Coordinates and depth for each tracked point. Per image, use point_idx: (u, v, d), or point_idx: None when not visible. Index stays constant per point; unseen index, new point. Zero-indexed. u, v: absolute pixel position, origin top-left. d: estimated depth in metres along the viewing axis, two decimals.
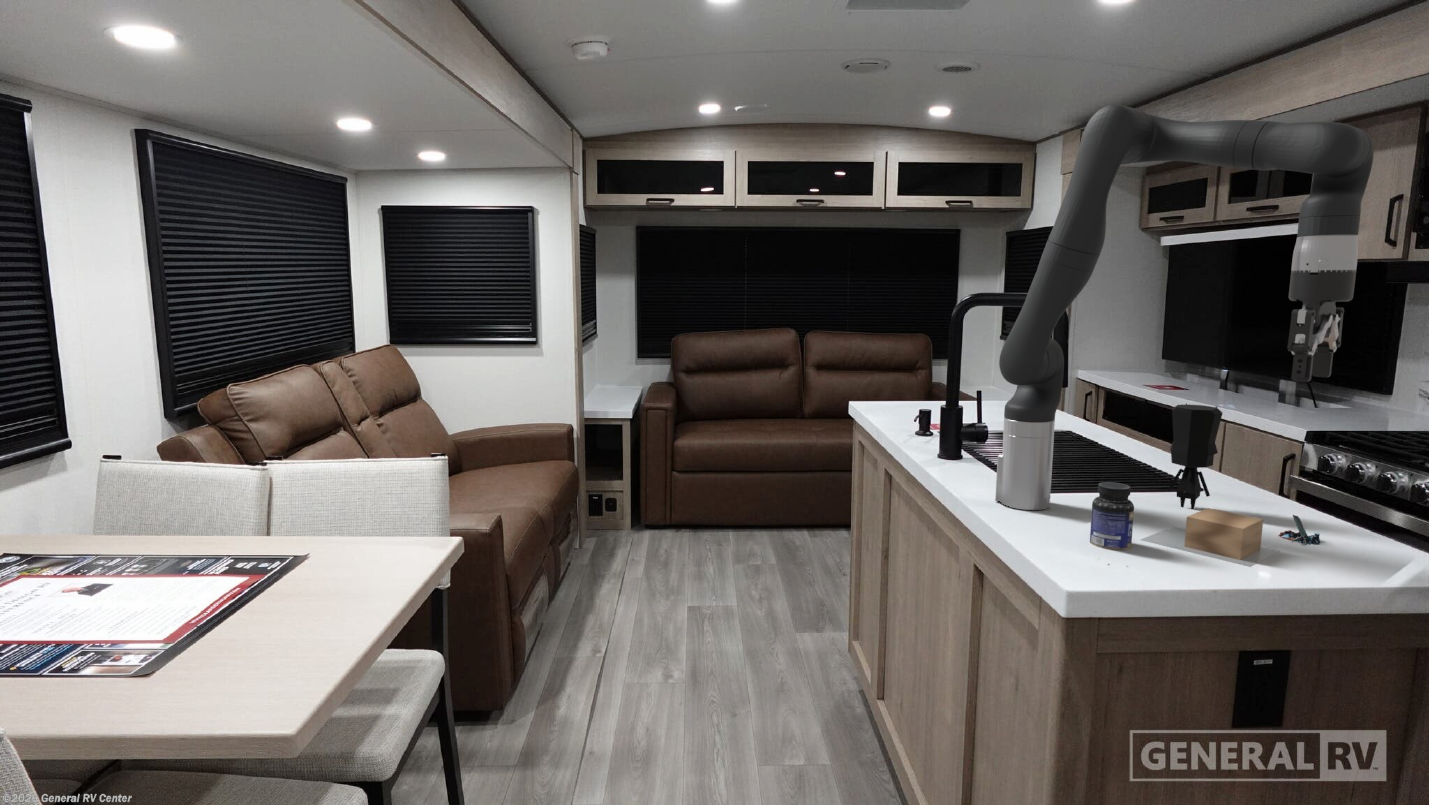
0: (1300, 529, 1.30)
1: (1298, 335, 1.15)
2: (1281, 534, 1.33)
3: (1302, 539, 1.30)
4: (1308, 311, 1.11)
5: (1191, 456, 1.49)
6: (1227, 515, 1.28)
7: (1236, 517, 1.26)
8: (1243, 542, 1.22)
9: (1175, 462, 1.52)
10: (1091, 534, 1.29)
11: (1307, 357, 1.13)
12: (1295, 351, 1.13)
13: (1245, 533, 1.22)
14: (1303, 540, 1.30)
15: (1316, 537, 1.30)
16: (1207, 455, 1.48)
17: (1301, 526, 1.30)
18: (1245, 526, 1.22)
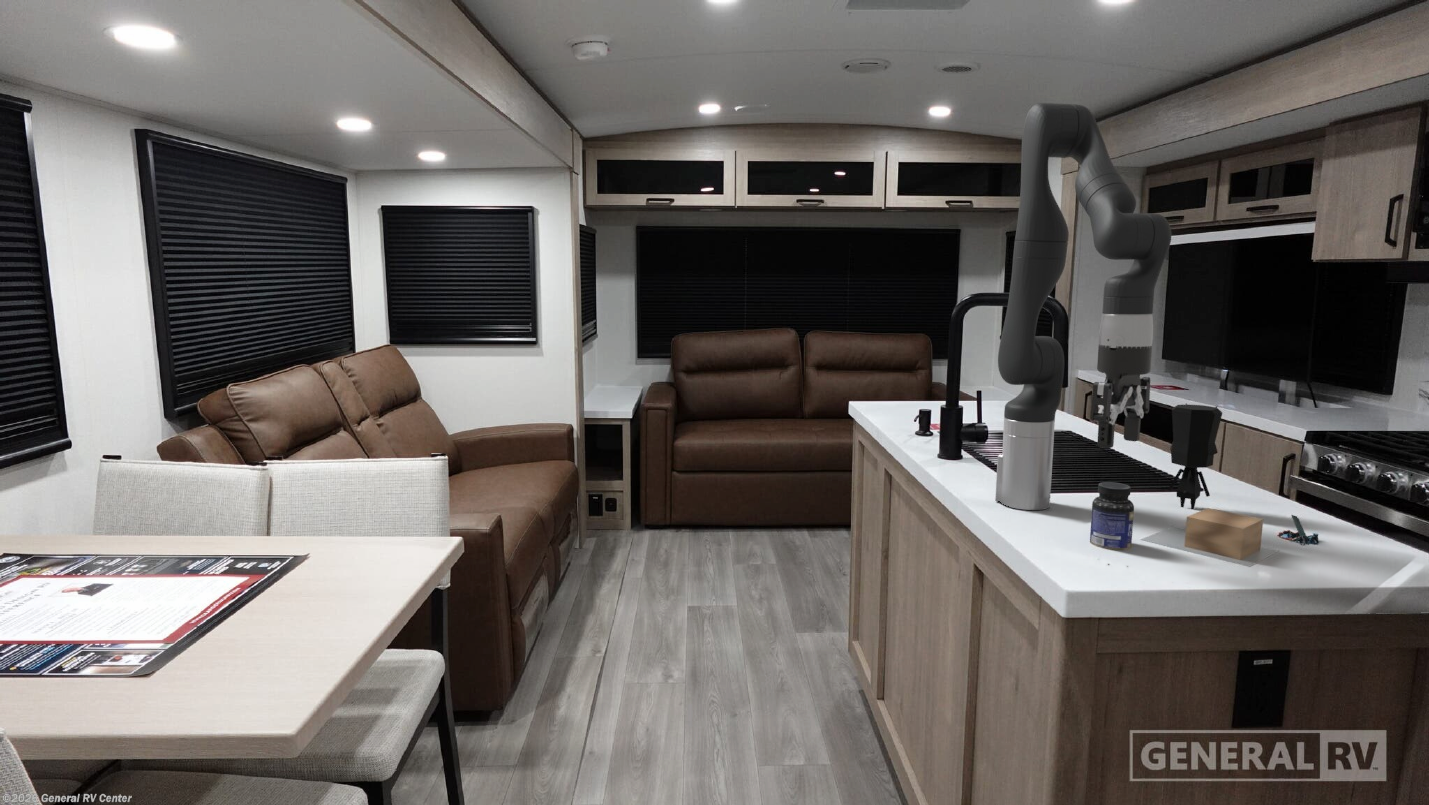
0: (1299, 529, 1.30)
1: None
2: (1280, 534, 1.33)
3: (1301, 539, 1.30)
4: (1106, 384, 1.21)
5: (1191, 456, 1.49)
6: (1227, 515, 1.28)
7: (1236, 517, 1.26)
8: (1243, 542, 1.22)
9: (1175, 462, 1.52)
10: (1091, 534, 1.29)
11: (1108, 426, 1.23)
12: (1097, 420, 1.23)
13: (1245, 533, 1.22)
14: (1302, 540, 1.30)
15: (1315, 537, 1.30)
16: (1207, 455, 1.48)
17: (1300, 526, 1.30)
18: (1245, 526, 1.22)
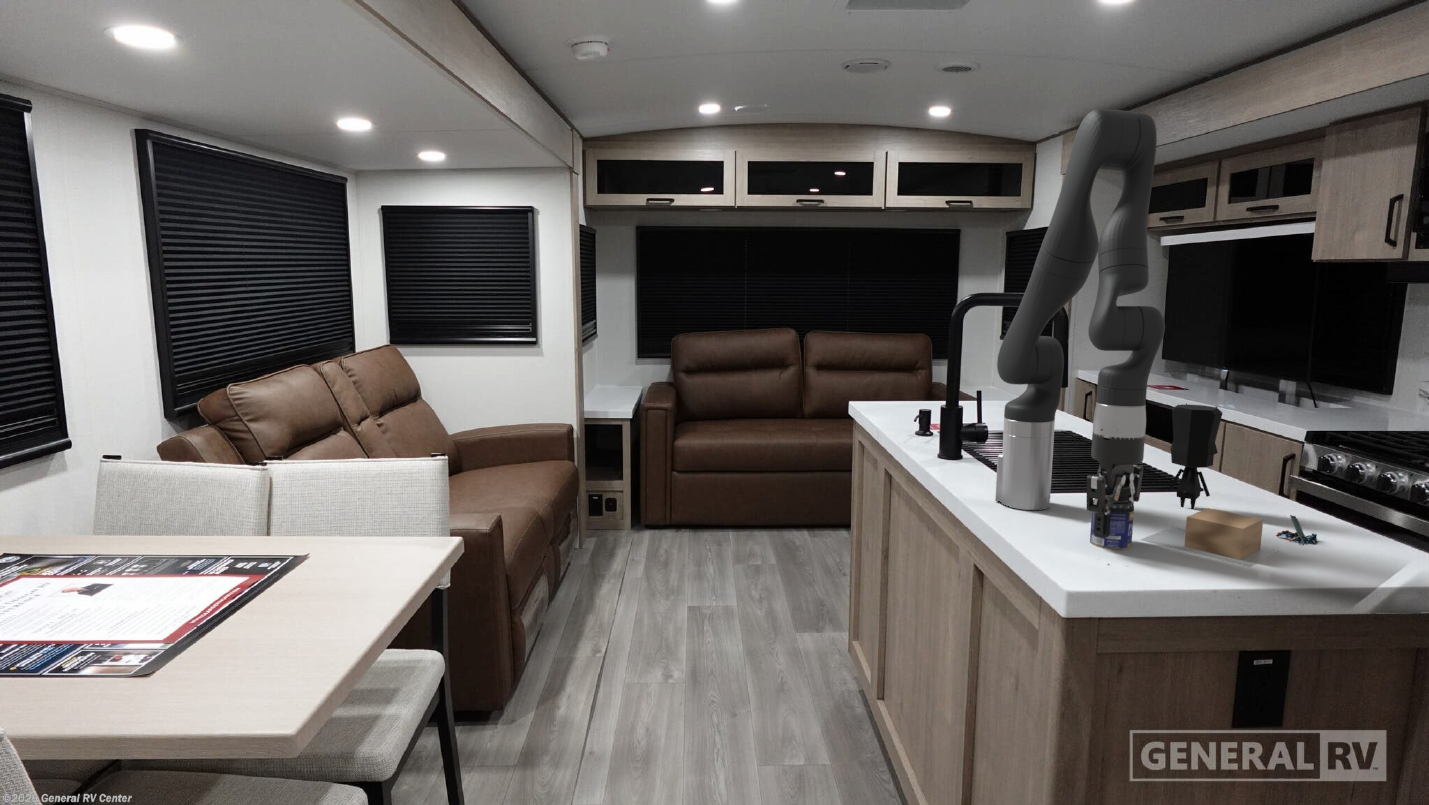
0: (1298, 529, 1.30)
1: None
2: (1278, 534, 1.33)
3: (1299, 539, 1.30)
4: (1098, 479, 1.23)
5: (1191, 456, 1.49)
6: (1227, 515, 1.28)
7: (1236, 517, 1.26)
8: (1243, 542, 1.22)
9: (1175, 462, 1.52)
10: (1091, 534, 1.29)
11: (1104, 516, 1.26)
12: (1093, 511, 1.25)
13: (1245, 533, 1.22)
14: (1300, 540, 1.30)
15: (1313, 537, 1.30)
16: (1207, 455, 1.48)
17: (1298, 526, 1.30)
18: (1245, 526, 1.22)
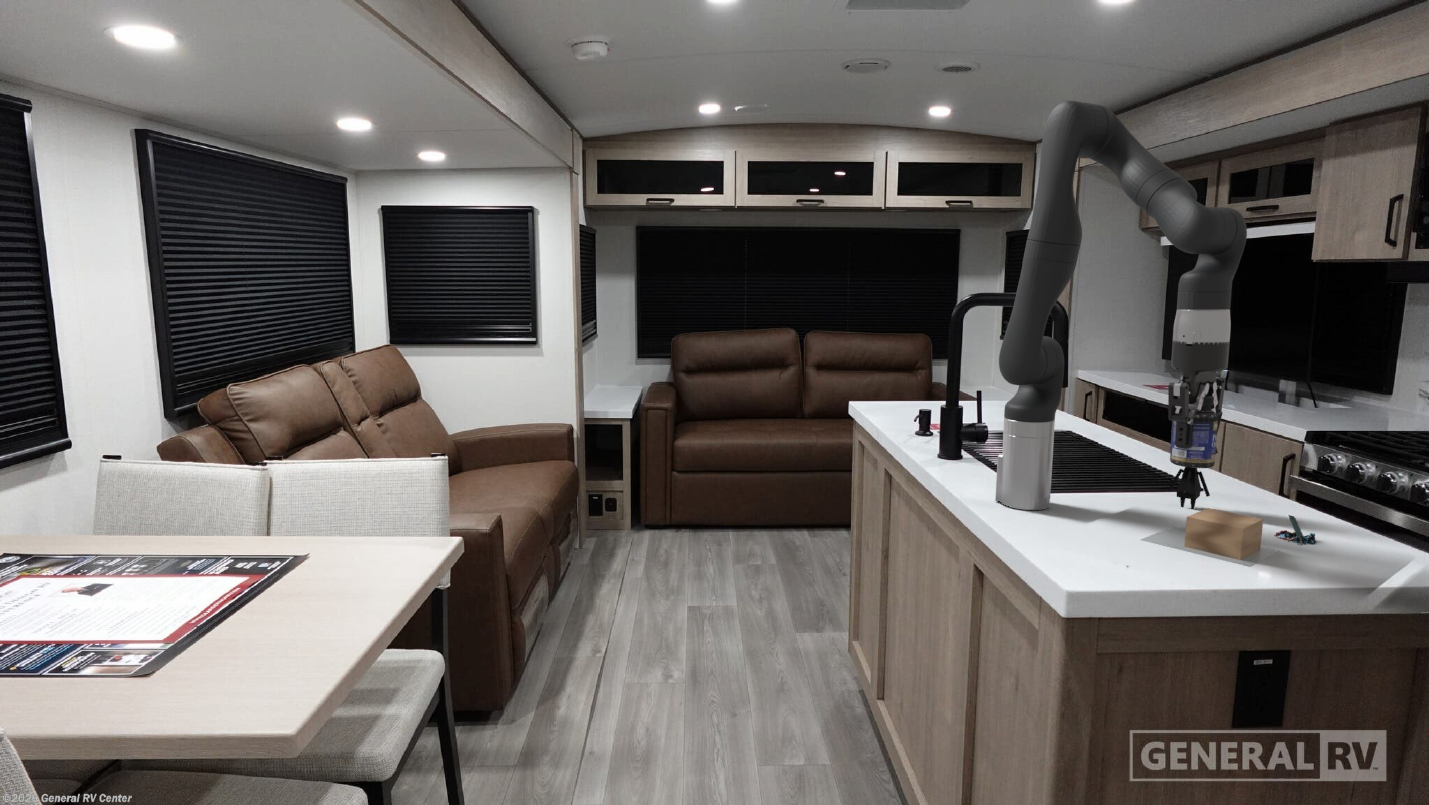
0: (1296, 529, 1.30)
1: None
2: (1277, 534, 1.33)
3: (1298, 539, 1.30)
4: (1182, 385, 1.19)
5: None
6: (1227, 515, 1.28)
7: (1236, 517, 1.26)
8: (1243, 542, 1.22)
9: None
10: (1172, 447, 1.25)
11: (1187, 426, 1.21)
12: (1175, 420, 1.21)
13: (1245, 533, 1.22)
14: (1299, 540, 1.30)
15: (1312, 537, 1.30)
16: None
17: (1297, 526, 1.30)
18: (1245, 526, 1.22)
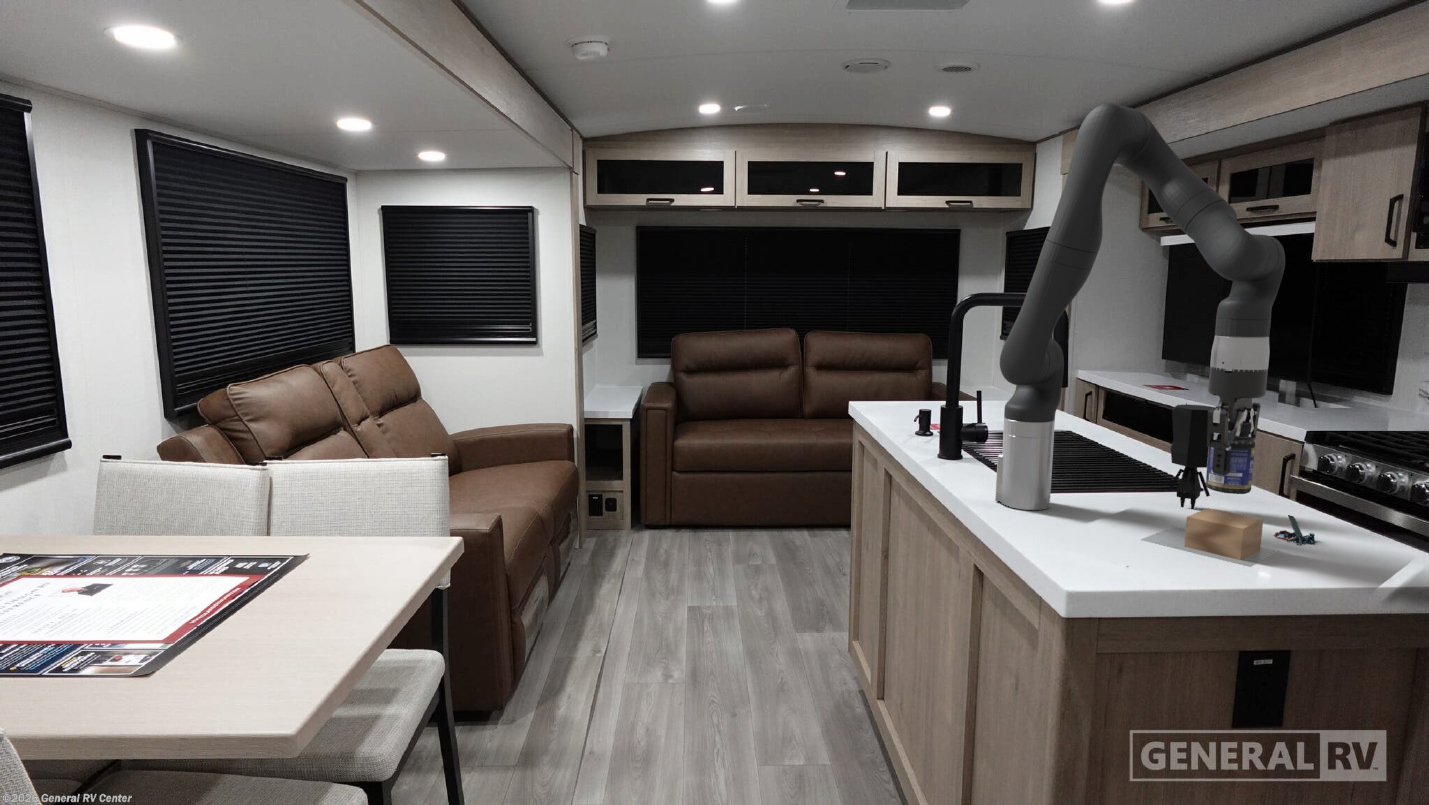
0: (1296, 529, 1.30)
1: None
2: (1276, 534, 1.33)
3: (1297, 539, 1.30)
4: (1222, 413, 1.19)
5: (1191, 456, 1.49)
6: (1227, 515, 1.28)
7: (1236, 517, 1.26)
8: (1243, 542, 1.22)
9: (1175, 462, 1.52)
10: (1209, 472, 1.26)
11: (1225, 452, 1.22)
12: (1214, 447, 1.22)
13: (1245, 533, 1.22)
14: (1298, 540, 1.30)
15: (1311, 537, 1.30)
16: (1207, 455, 1.48)
17: (1296, 526, 1.30)
18: (1245, 526, 1.22)
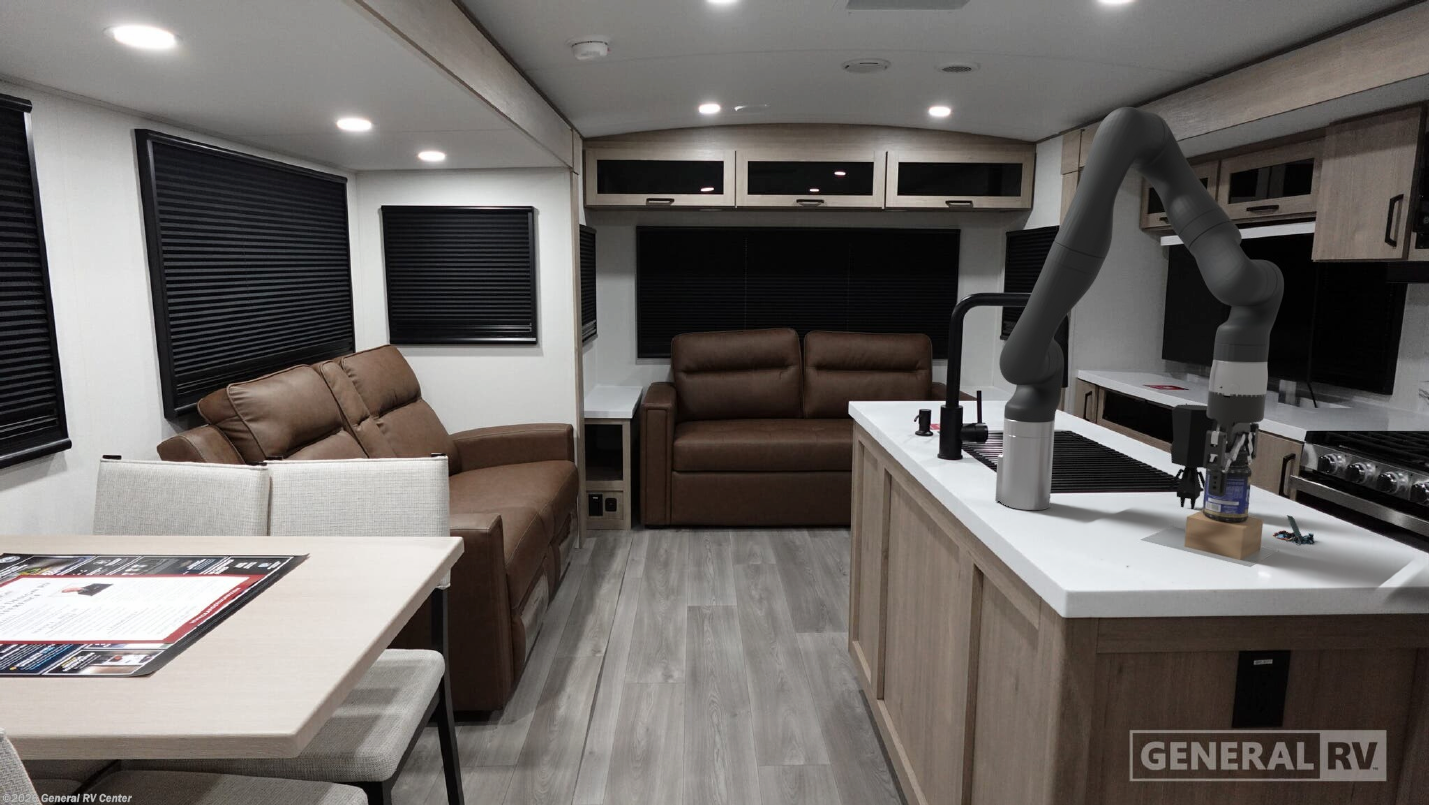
0: (1295, 529, 1.30)
1: None
2: (1275, 534, 1.33)
3: (1296, 539, 1.30)
4: (1220, 434, 1.20)
5: (1191, 456, 1.49)
6: None
7: None
8: (1243, 542, 1.22)
9: (1175, 462, 1.52)
10: (1205, 500, 1.26)
11: (1221, 474, 1.22)
12: (1210, 469, 1.22)
13: (1245, 533, 1.22)
14: (1297, 540, 1.30)
15: (1310, 537, 1.30)
16: None
17: (1295, 526, 1.30)
18: (1245, 526, 1.22)
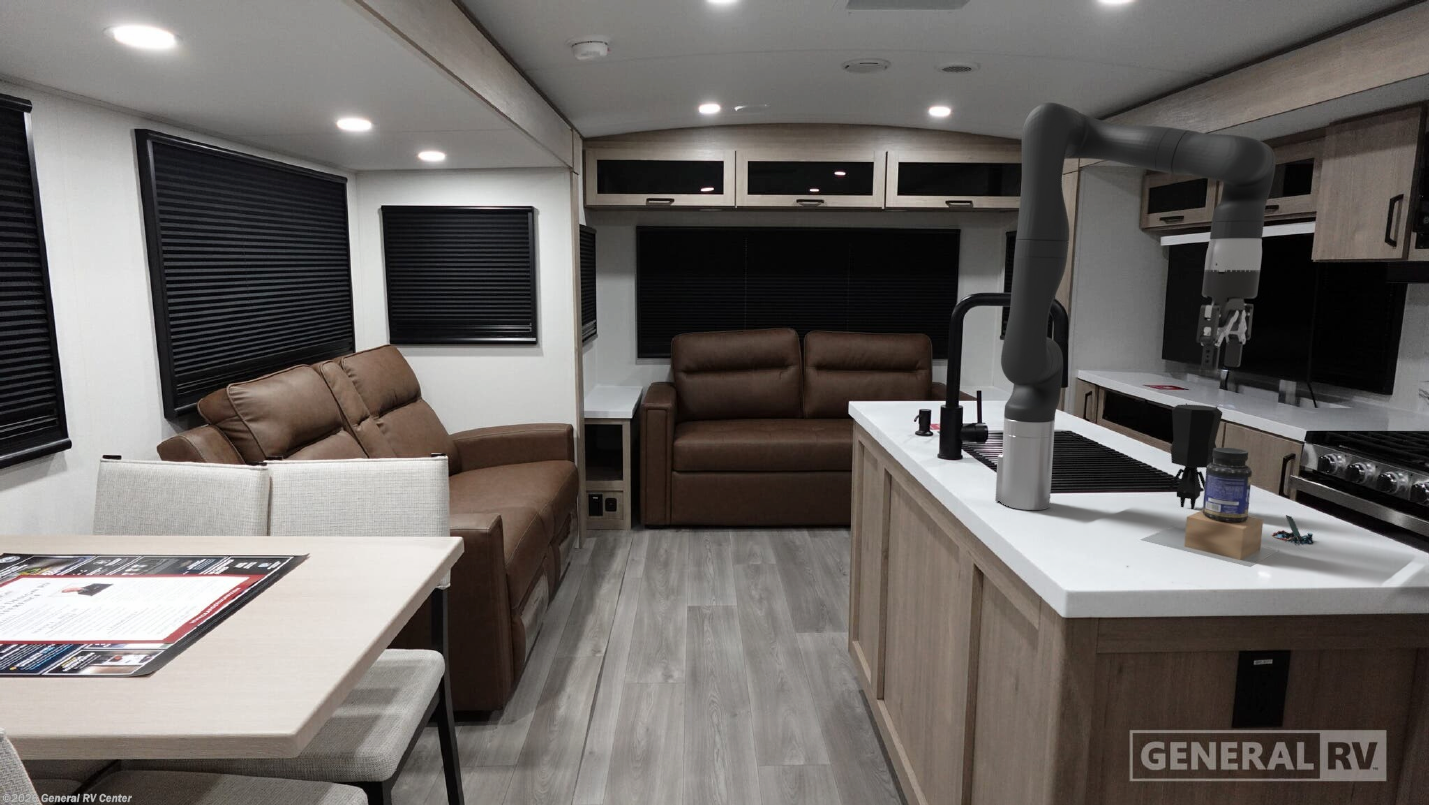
0: (1294, 529, 1.30)
1: (1207, 328, 1.27)
2: (1274, 534, 1.33)
3: (1295, 539, 1.30)
4: (1214, 306, 1.24)
5: (1191, 456, 1.49)
6: None
7: None
8: (1243, 542, 1.22)
9: (1175, 462, 1.52)
10: (1205, 500, 1.26)
11: (1214, 348, 1.26)
12: (1203, 342, 1.26)
13: (1245, 533, 1.22)
14: (1296, 540, 1.30)
15: (1309, 537, 1.30)
16: (1207, 455, 1.48)
17: (1294, 526, 1.30)
18: (1245, 526, 1.22)
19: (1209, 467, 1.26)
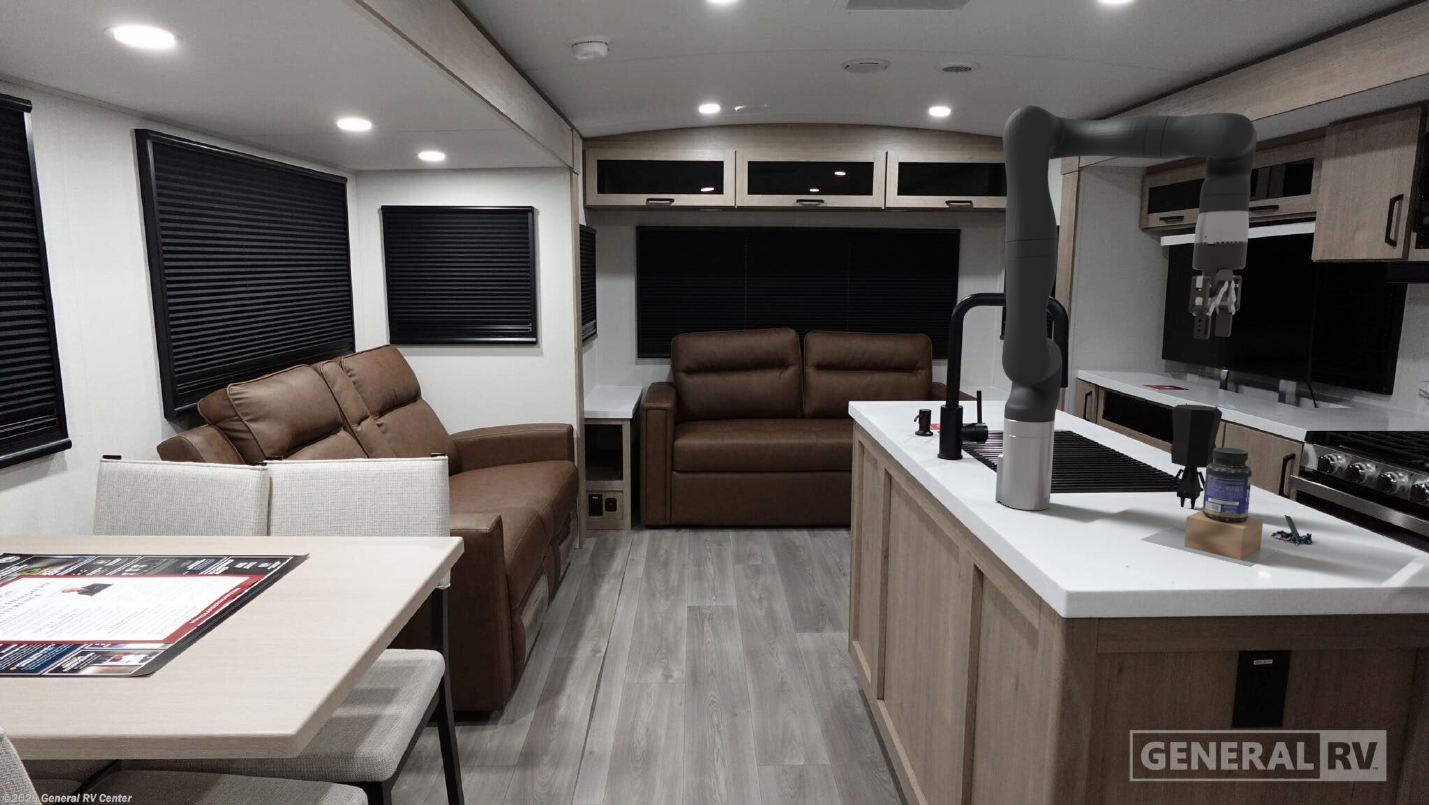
0: (1293, 529, 1.30)
1: (1199, 299, 1.32)
2: (1273, 534, 1.33)
3: (1294, 539, 1.30)
4: (1204, 277, 1.28)
5: (1191, 456, 1.49)
6: None
7: None
8: (1243, 542, 1.22)
9: (1175, 462, 1.52)
10: (1205, 500, 1.26)
11: (1205, 317, 1.30)
12: (1195, 312, 1.30)
13: (1245, 533, 1.22)
14: (1295, 540, 1.30)
15: (1308, 537, 1.30)
16: (1207, 455, 1.48)
17: (1293, 526, 1.30)
18: (1245, 526, 1.22)
19: (1209, 467, 1.26)
